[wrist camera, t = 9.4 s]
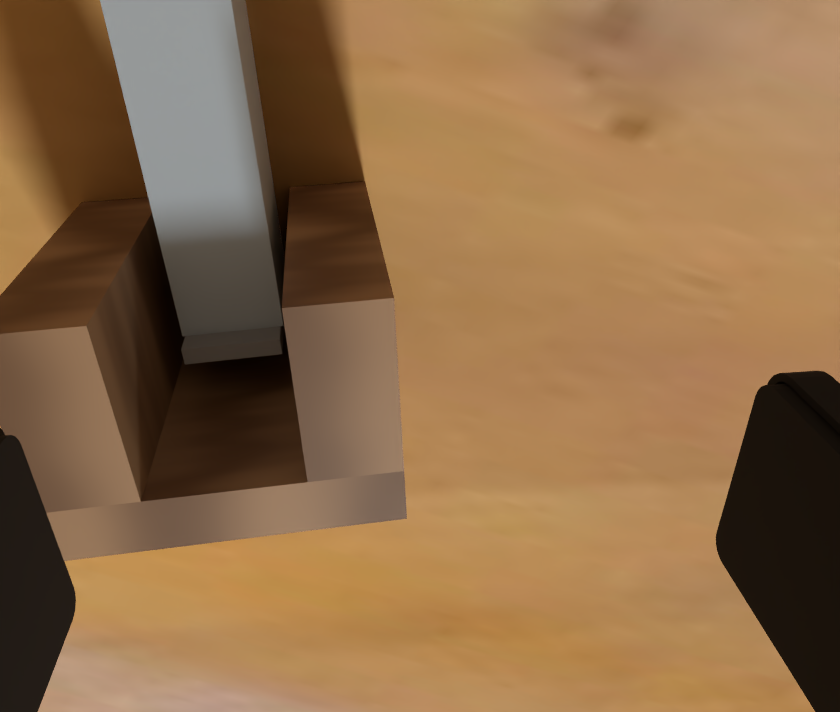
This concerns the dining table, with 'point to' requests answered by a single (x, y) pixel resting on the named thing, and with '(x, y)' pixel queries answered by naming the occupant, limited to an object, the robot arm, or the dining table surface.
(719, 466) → the dining table surface
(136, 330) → the brown wooden u-shaped block
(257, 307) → the rail
